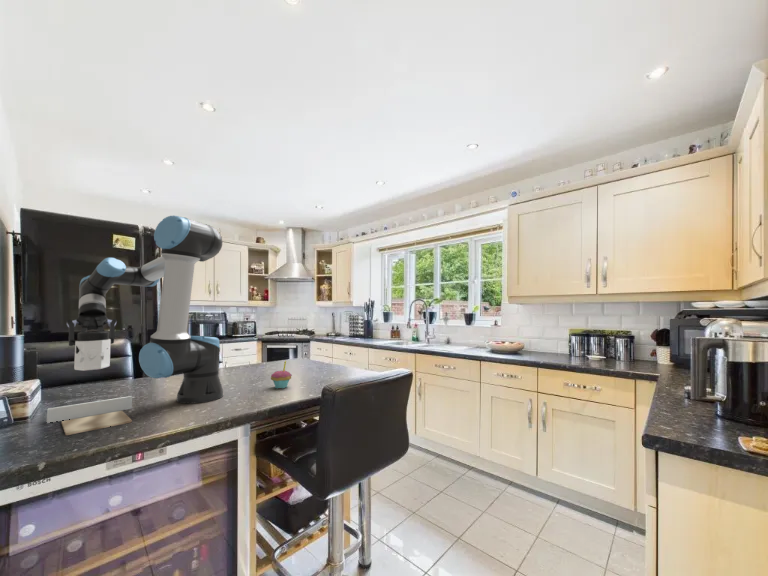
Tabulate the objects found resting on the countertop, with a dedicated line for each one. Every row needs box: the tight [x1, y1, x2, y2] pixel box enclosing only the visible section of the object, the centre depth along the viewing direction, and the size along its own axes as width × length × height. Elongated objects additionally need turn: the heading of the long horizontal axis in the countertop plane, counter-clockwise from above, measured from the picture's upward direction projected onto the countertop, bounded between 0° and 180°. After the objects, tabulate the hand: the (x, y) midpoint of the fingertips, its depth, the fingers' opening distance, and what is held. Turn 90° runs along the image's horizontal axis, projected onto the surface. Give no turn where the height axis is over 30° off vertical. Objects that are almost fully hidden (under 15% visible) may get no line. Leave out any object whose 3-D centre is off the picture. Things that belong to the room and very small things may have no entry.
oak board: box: [61, 410, 133, 436], centre depth 97 cm, size 14×14×1 cm
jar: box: [73, 330, 112, 372], centre depth 111 cm, size 9×8×12 cm
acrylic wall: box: [46, 395, 133, 424], centre depth 104 cm, size 20×1×4 cm, turn 138°
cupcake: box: [270, 360, 293, 389], centre depth 142 cm, size 9×8×12 cm
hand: (92, 359), depth 108 cm, fingers closed on jar, 4 cm apart
